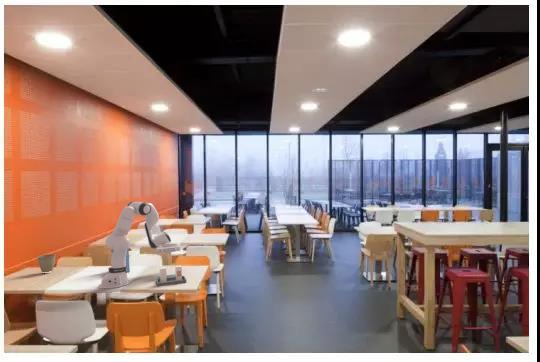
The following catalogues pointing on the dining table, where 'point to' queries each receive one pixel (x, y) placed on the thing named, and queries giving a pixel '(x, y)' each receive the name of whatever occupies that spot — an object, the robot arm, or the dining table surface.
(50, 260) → the plant pot
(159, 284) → the charcoal tray
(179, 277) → the labelled box
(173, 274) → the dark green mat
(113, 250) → the gum box
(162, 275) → the plain box
